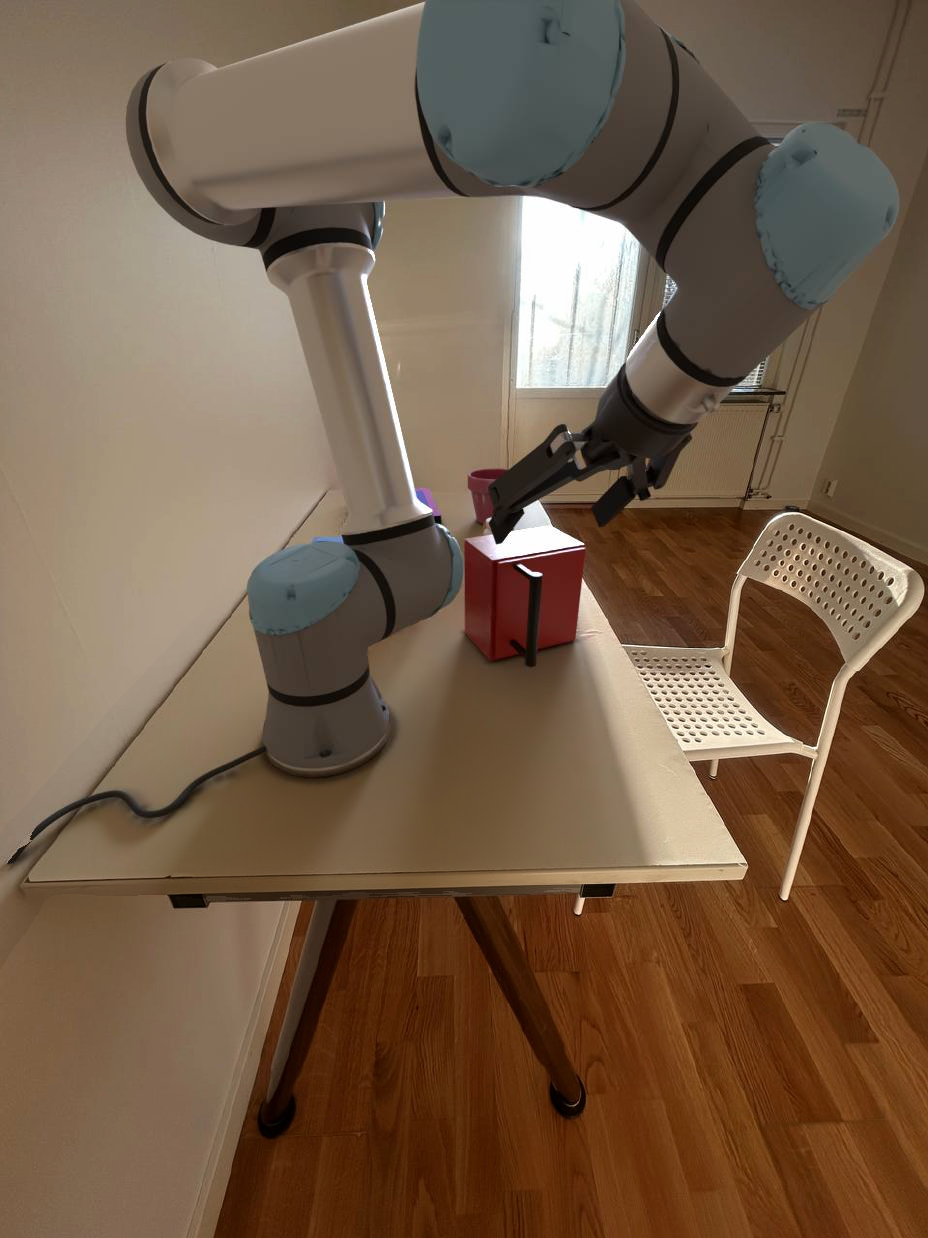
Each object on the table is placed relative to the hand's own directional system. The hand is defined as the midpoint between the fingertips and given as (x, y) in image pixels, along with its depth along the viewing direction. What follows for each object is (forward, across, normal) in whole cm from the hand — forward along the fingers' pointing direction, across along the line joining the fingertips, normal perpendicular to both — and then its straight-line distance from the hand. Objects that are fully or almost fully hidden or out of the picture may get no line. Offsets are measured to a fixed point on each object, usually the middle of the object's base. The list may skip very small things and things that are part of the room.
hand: (548, 524), depth 59 cm
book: (+82, +9, +48) cm, 96 cm away
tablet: (+64, -15, +30) cm, 73 cm away
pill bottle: (+50, +17, +15) cm, 55 cm away
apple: (+57, +22, +22) cm, 65 cm away
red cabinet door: (+22, +6, -12) cm, 25 cm away
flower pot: (+70, +30, +36) cm, 84 cm away
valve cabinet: (+28, +6, -6) cm, 30 cm away
